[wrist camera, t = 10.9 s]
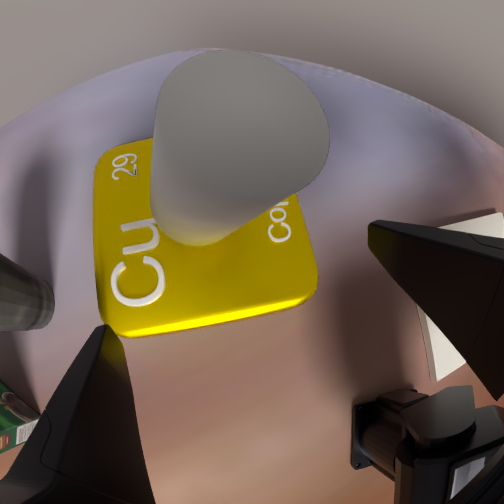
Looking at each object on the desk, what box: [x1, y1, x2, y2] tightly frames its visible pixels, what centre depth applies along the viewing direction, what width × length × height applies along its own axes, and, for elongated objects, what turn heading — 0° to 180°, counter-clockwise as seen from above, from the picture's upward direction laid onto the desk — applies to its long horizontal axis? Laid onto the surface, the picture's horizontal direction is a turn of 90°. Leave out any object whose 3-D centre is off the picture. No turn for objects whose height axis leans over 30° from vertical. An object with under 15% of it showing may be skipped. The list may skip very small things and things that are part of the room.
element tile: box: [93, 138, 319, 338], centre depth 21 cm, size 15×15×5 cm
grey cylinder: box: [150, 50, 330, 246], centre depth 13 cm, size 6×6×10 cm
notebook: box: [416, 212, 504, 381], centre depth 23 cm, size 14×20×1 cm
